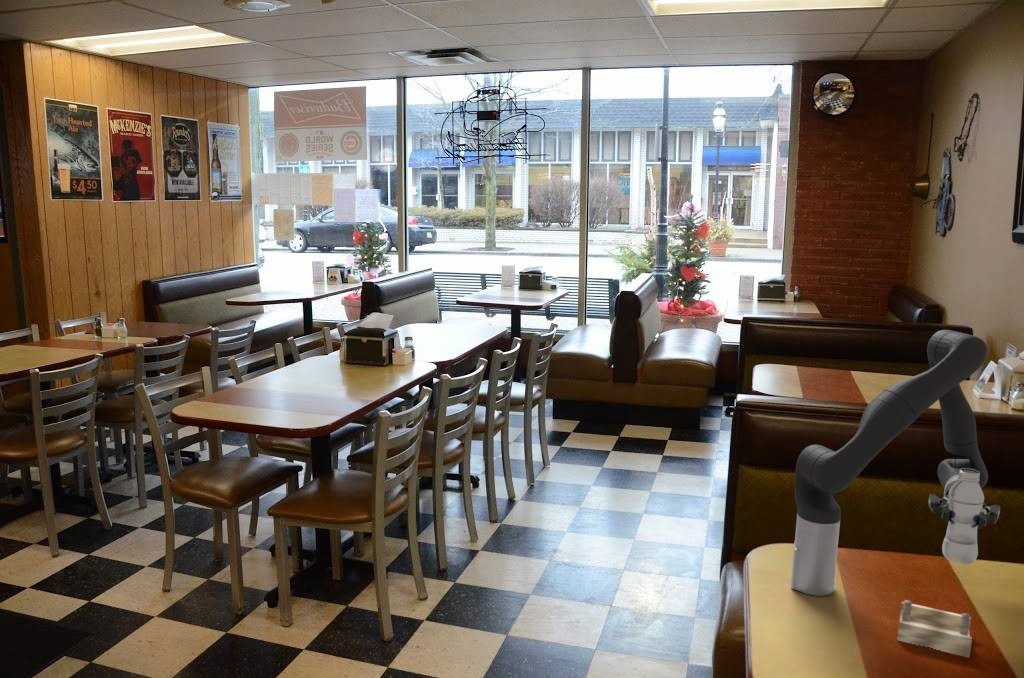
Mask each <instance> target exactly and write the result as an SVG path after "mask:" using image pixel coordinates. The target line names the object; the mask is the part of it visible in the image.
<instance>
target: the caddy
mask: <svg viewBox="0 0 1024 678" xmlns="http://www.w3.org/2000/svg"><path fill="white" fill-rule="evenodd" d="M898 620H899V621H898V627H897V628H898V629H897V637H896V640H897V641H898V642H902V643H907V644H910V643H911V644H912V645H914V644H915V645H916V646H919V645H920V646H919V647H923V646H925V647H924V648H927V647H930V648H929V649H931V648H933V649H932V650H935V649H936V651H939V650H940V652H944V653H948V654H952V655H955V656H961V657H963V658H968V659H969V658H970V656H971V649H972V641H973V637H972V636H971V635H970V634H971V632H970V631H971V623H972V622H971V621H972V616H971V614H969V613H967V612H962V613H956V612H951V611H946V610H941V609H938V608H933V607H929V606H924V605H920V604H915V603H913V601H911V600H909V599H904V600H903V601H901V605H900V613H899V619H898ZM911 644H910V645H911Z"/></svg>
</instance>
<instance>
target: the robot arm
mask: <svg viewBox="0 0 1024 678" xmlns="http://www.w3.org/2000/svg"><path fill="white" fill-rule="evenodd" d="M926 353H927V360H928V365H929V369H928V370H926V371H924V372H922V373H919V374H916V375H913V376H911V377H908V378H906V379H903V380H899V381H897V382H896V383H893V384H891V385H889V386H888V387H886V388H885V389H884V390H882V391H881V392H880V393H879V394H878V395H877V396H876V397H874V398H873V399H872V400H871V401H870V402H869V404H867V406H866V407H865V409H864V410H863V413H862V416H861V420H860V422H859V426H858V429H857V431H856V433H855V435H854V436H853V437H852V438H851V439H850V440H849V441H848V442H847V443H846V444H845V445H843V446H842V447H841V448H839V449H838V450H836V451H834V450H833V449H830V448H828V447H826V446H824V445H821V444H811V445H808V446H806V447H805V448H804V449H803V450H802V451H801V453H799V456H798V458H797V461H796V465H795V474H794V475H795V481H794V482H795V483H794V498H795V499H794V501H795V503H796V504H795V505H796V507H797V512H796V525H795V535H794V538H795V539H794V542H793V552H792V561H791V562H792V563H791V564H792V566H791V576H790V581H791V582H790V583H791V584H790V585H791V587H790V589H792V590H796V591H799V592H801V593H803V594H806V595H811V596H818V597H820V596H823V597H824V596H829V595H831V594H833V593H834V588H835V579H836V578H835V577H836V571H837V568H836V567H837V557H838V548H839V547H838V546H839V536H840V527H841V526H840V525H841V515H842V514H841V513H842V510H841V506H840V505H839V504H838V502H837V501H836V500H835V498H834V494H837V493H839V492H842V491H844V490H845V489H846V488H847V487H848V486H849V485H851V483H852V482H853V481H854V480H855V479H856V478H857V477H858V476H859V475H860V473H862V471H864V469H865V468H866V467H867V466H868V464H870V462H871V461H872V460H873V459H874V458H875V457H876V456H878V454H879V453H881V452H882V451H883V450H884V448H886V447H887V446H888V445H889V443H891V442H893V440H894V439H895V438H896V437H898V435H901V433H902V432H904V431H905V430H906V429H907V428H908V427H909V426H910V425H912V423H914V422H915V421H916V420H917V419H918V418H919V417H920V416H921V415H922V414H923V413H924V412H926V411H927V410H928V409H929V408H930V407H931V406H932V405H934V404H935V403H936V402H937V401H938V404H939V407H940V413H941V421H942V435H943V437H942V438H943V445H944V449H945V451H946V452H948V453H950V454H953V455H957V456H961V457H965V458H956V459H955V458H946V459H944V460H942V461H940V463H939V464H938V467H937V477H938V479H939V481H940V484H941V486H942V487H943V488H944V491H943V496H942V498H940V497H939V496H936V494H935V493H929V495H928V501H927V502H928V503H927V506H928V507H929V509H930V511H931V513H932V514H934V515H939V514H940V515H941V519H942V520H944V522H946V523H948V522H949V517H950V510H949V497H948V496H949V490H950V488H951V487H952V486H953V485H954V484H955V483H956V482H958V481H959V478H958V475H959V470H960V469H961V468H969V469H974V470H977V471H979V472H980V476H979V479H980V480H979V482H977V484H978V485H979V487H980V488H981V489H982V488H984V487H985V486H986V485H987V482H988V480H989V474H988V473H989V472H988V470H987V468H986V465H985V462H984V460H983V459H982V455H981V453H980V450H979V445H978V444H979V443H978V435H977V422H976V417H975V414H974V412H973V409H972V407H971V405H970V403H969V401H968V399H967V398H966V396H965V393H964V392H963V390H962V387H961V383H962V382H964V381H965V380H966V379H968V378H969V377H971V376H972V375H973V374H974V373H976V372H977V371H978V370H979V369H980V368H981V366H982V365H983V364H984V362H985V361H986V358H987V356H988V346H987V343H986V342H985V340H983V338H980V337H978V336H976V335H972V334H969V333H964V332H960V331H956V330H951V329H941V330H938V331H936V332H935V333H933V335H932V336H931V337H930V339H929V340H928V343H927V347H926ZM1000 512H1001V505H999V504H993V505H991V506H989V505H988V506H987V504H986V503H985V502H983V506H982V509H981V512H980V515H979V521H978V527H977V529H983V527H984V528H985V527H987V523H988V524H991V525H996V523H997V522H998V519H999V518H1000Z"/></svg>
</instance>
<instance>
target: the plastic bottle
mask: <svg viewBox="0 0 1024 678" xmlns="http://www.w3.org/2000/svg"><path fill="white" fill-rule="evenodd" d="M979 476H980V472H979V471H977V470H974V469H969V468H961V469H960V470H959V475H958V478H959V481H958V482H956V483H955V484H954V485H953V486H952V487H951V488H950V490H949V496H948V497H949V510H950V517H949V522H947V523H948V524H947V528H946V533H945V536H944V539H943V542H942V544H941V545H942V547H941V551H942V554H943V556H944V558H945V559H946V560H948V561H949V562H953V563H956V564H961V565H971V564H973V563H975V562H976V560H977V558H978V556H979V545H978V521H979V515H980V512H981V509H982V506H983V503H985V496H984V492H983V490H982V488H980V487H979V485H978V484H977V482H979V480H980V479H979Z"/></svg>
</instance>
